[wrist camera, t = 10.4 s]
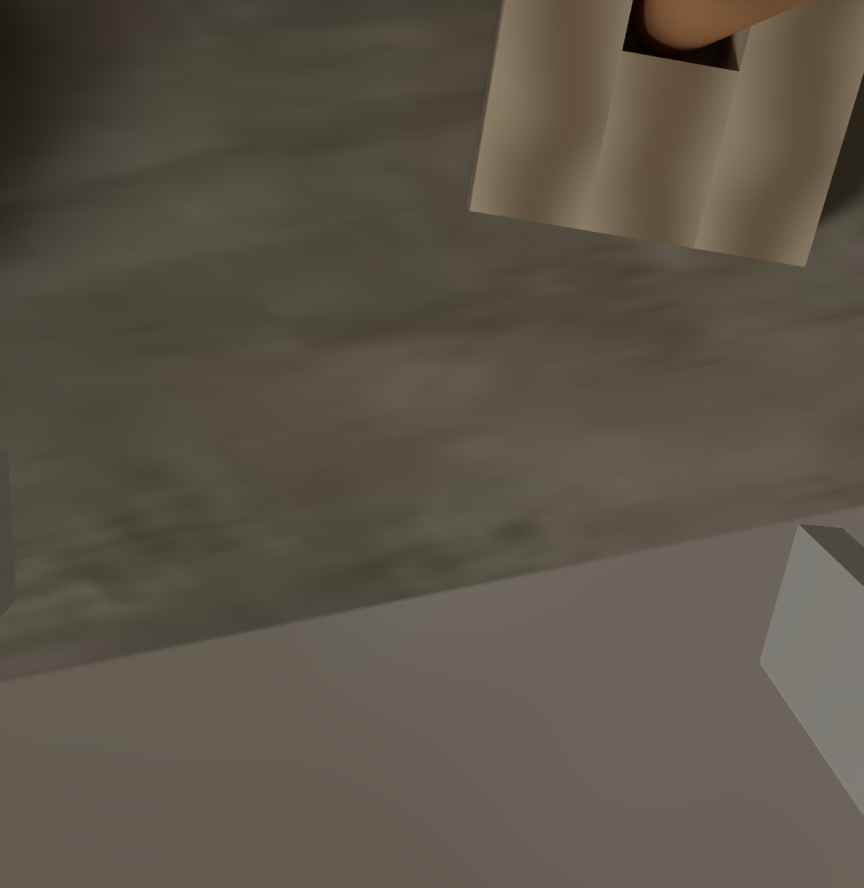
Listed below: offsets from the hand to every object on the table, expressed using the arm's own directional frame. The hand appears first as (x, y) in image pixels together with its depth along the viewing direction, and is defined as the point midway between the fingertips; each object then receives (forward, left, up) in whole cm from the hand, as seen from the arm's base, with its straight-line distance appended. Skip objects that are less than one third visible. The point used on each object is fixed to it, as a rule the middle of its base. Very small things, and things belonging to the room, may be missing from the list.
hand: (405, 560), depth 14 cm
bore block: (+8, +14, -27) cm, 31 cm away
